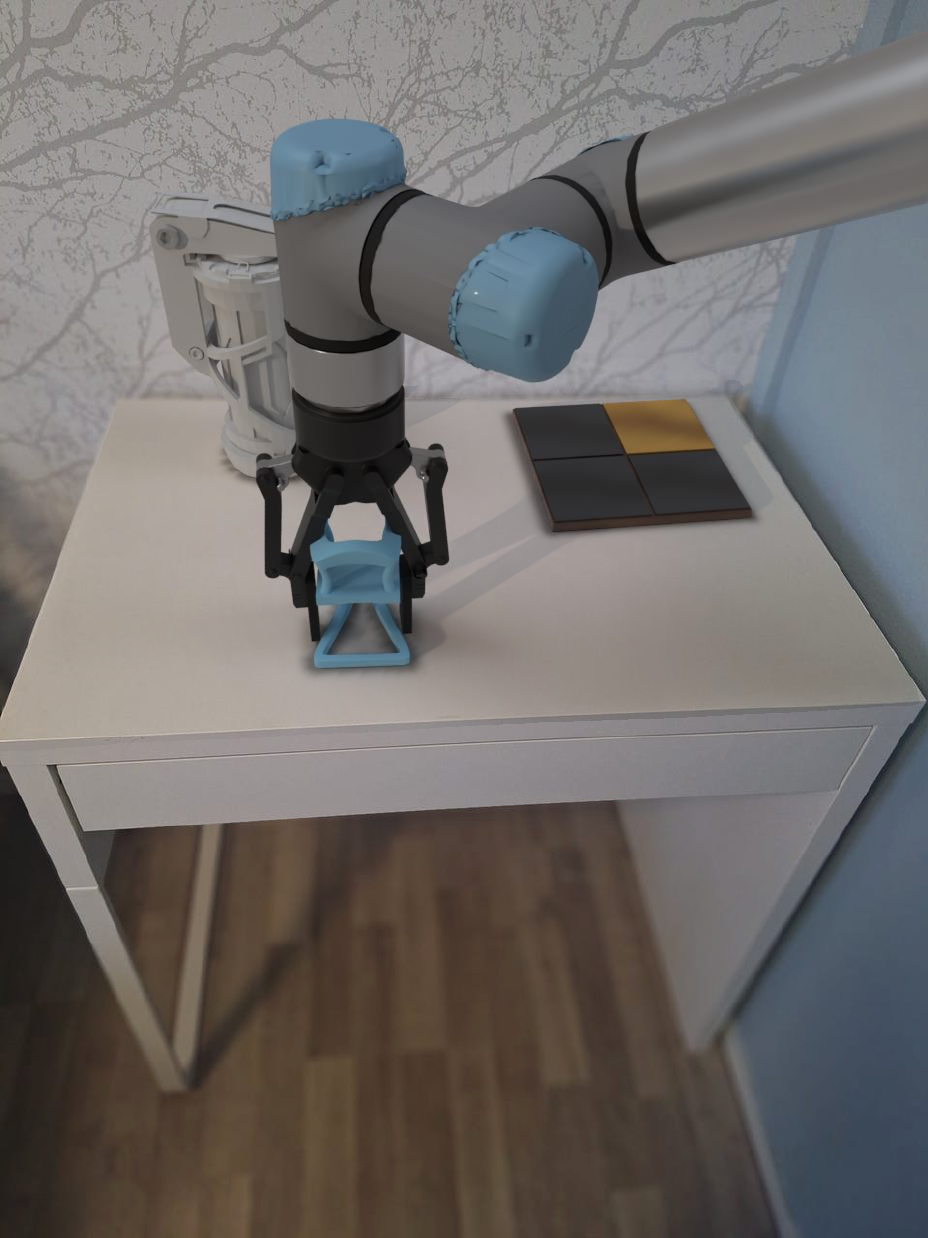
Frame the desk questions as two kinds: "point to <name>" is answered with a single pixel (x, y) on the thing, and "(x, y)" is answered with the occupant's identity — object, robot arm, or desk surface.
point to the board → (626, 465)
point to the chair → (358, 592)
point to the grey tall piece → (228, 314)
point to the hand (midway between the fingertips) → (360, 625)
